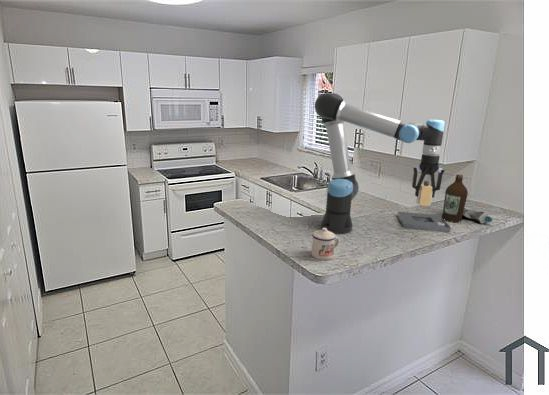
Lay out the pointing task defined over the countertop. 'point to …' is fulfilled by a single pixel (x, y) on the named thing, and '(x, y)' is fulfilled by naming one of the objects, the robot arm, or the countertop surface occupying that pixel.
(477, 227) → the countertop surface
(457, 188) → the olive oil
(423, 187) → the plug
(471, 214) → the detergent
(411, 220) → the socket plate
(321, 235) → the teacup with lid
